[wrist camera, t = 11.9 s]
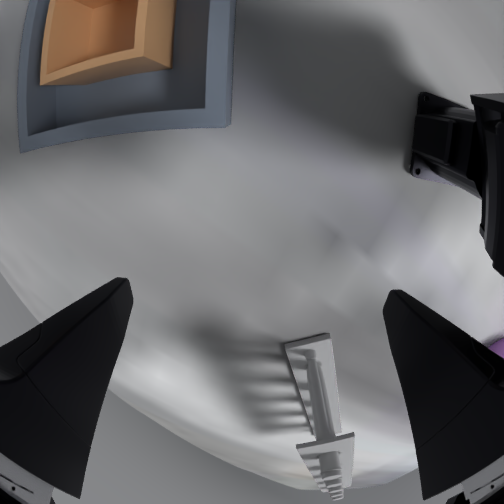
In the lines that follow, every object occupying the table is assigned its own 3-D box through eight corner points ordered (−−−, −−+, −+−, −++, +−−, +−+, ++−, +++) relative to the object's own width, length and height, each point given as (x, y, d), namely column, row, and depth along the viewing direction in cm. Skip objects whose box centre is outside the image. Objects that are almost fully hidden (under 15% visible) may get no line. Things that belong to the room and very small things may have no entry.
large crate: (239, -51, 9) (237, -79, 6) (231, 124, 16) (225, 127, 13) (63, -11, 9) (35, -22, 6) (53, 142, 16) (20, 153, 12)
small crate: (178, -14, 11) (155, -47, 6) (172, 68, 14) (143, 56, 9) (91, 7, 10) (52, -10, 6) (85, 85, 14) (40, 85, 9)
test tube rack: (284, 343, 26) (297, 474, 14) (329, 332, 25) (361, 461, 13) (314, 434, 37) (323, 504, 26) (341, 428, 37) (353, 498, 25)
